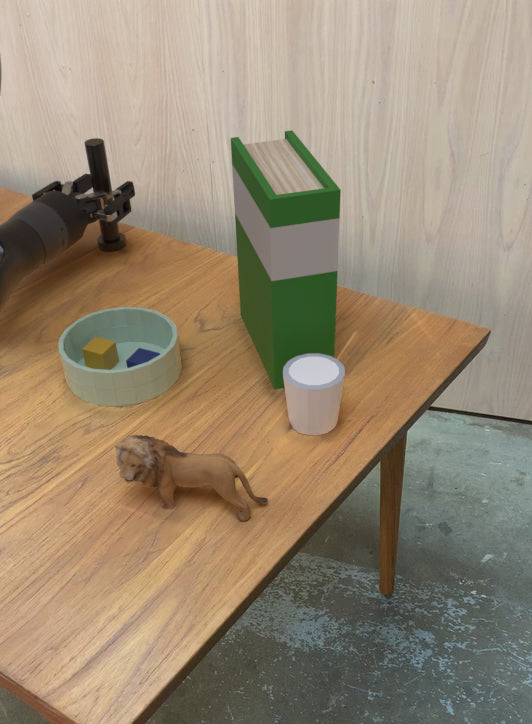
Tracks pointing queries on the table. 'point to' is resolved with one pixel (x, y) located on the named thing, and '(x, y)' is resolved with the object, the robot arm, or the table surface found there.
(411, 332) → the table surface
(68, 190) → the robot arm
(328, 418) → the white cup
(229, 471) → the lion figurine
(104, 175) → the black flashlight
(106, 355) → the mustard block
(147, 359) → the navy block
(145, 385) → the bowl
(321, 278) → the hardback book
